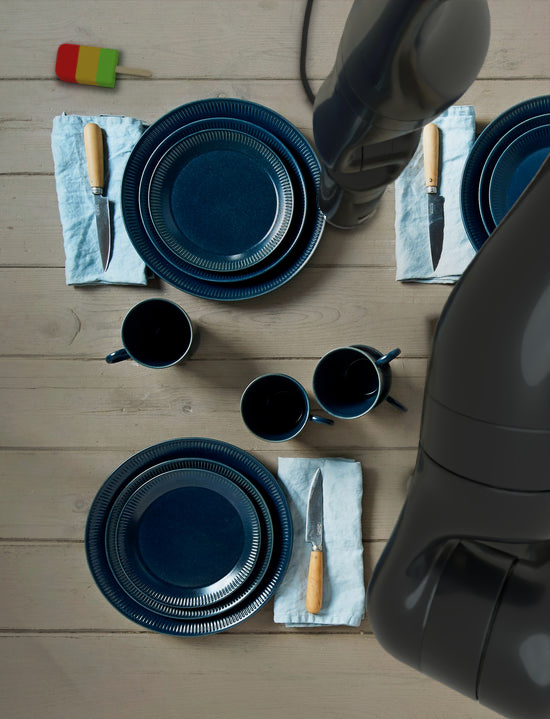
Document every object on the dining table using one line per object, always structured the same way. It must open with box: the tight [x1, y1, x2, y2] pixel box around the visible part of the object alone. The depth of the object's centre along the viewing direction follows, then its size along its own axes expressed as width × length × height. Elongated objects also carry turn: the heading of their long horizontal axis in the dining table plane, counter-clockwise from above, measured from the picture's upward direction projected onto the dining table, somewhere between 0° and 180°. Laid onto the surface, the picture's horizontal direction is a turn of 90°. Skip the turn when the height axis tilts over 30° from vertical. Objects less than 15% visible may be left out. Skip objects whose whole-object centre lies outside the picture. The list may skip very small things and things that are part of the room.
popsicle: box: [54, 42, 153, 89], centre depth 88 cm, size 6×15×2 cm, turn 82°
